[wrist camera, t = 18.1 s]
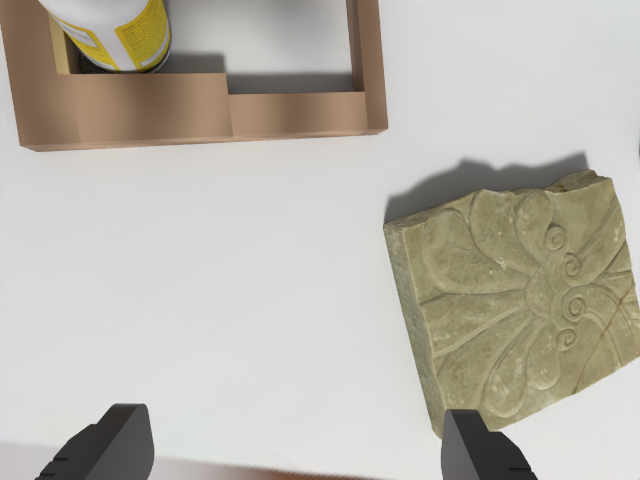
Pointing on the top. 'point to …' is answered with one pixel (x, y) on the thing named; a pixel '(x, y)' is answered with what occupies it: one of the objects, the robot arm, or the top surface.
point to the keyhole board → (173, 94)
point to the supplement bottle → (116, 32)
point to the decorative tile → (516, 296)
